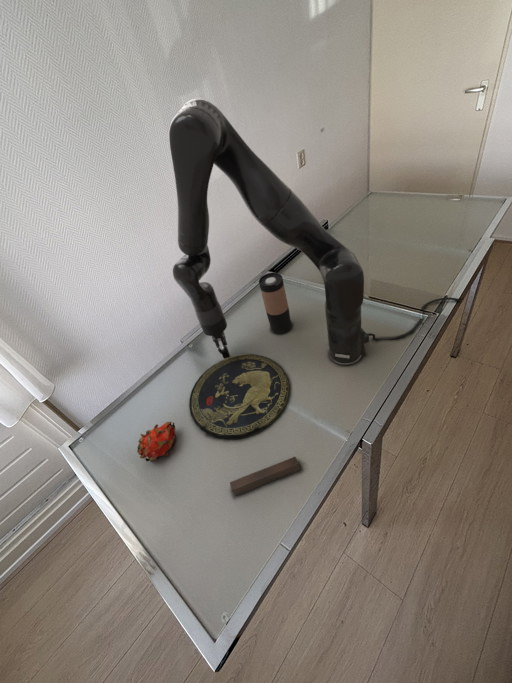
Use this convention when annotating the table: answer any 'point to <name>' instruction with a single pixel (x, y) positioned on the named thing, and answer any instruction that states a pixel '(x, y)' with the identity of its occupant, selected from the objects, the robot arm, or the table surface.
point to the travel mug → (275, 302)
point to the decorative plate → (239, 396)
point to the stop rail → (264, 476)
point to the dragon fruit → (156, 441)
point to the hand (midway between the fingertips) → (226, 356)
